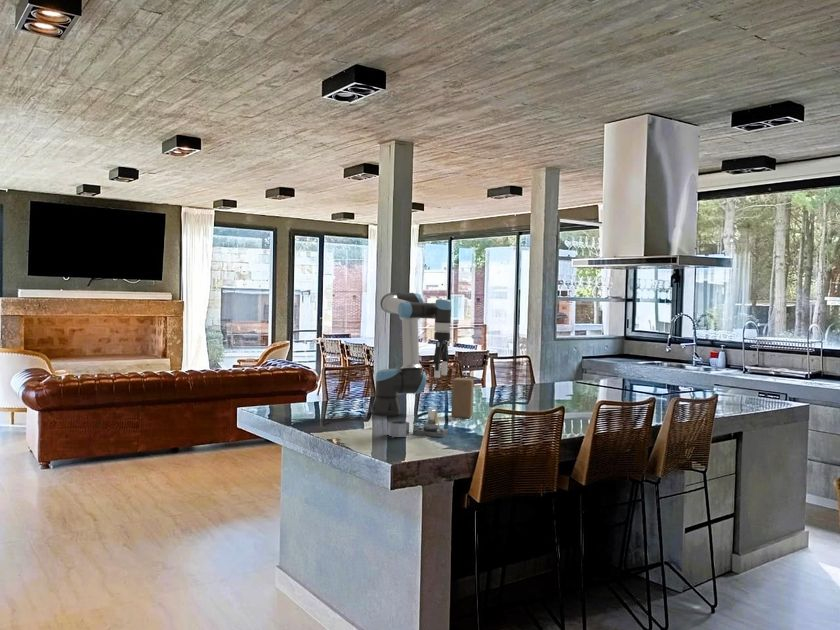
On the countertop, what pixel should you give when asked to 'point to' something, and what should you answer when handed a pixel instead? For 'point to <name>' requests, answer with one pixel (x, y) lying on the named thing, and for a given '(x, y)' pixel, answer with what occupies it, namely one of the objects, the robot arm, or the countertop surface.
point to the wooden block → (462, 397)
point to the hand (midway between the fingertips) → (440, 376)
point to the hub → (398, 428)
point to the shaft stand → (431, 426)
